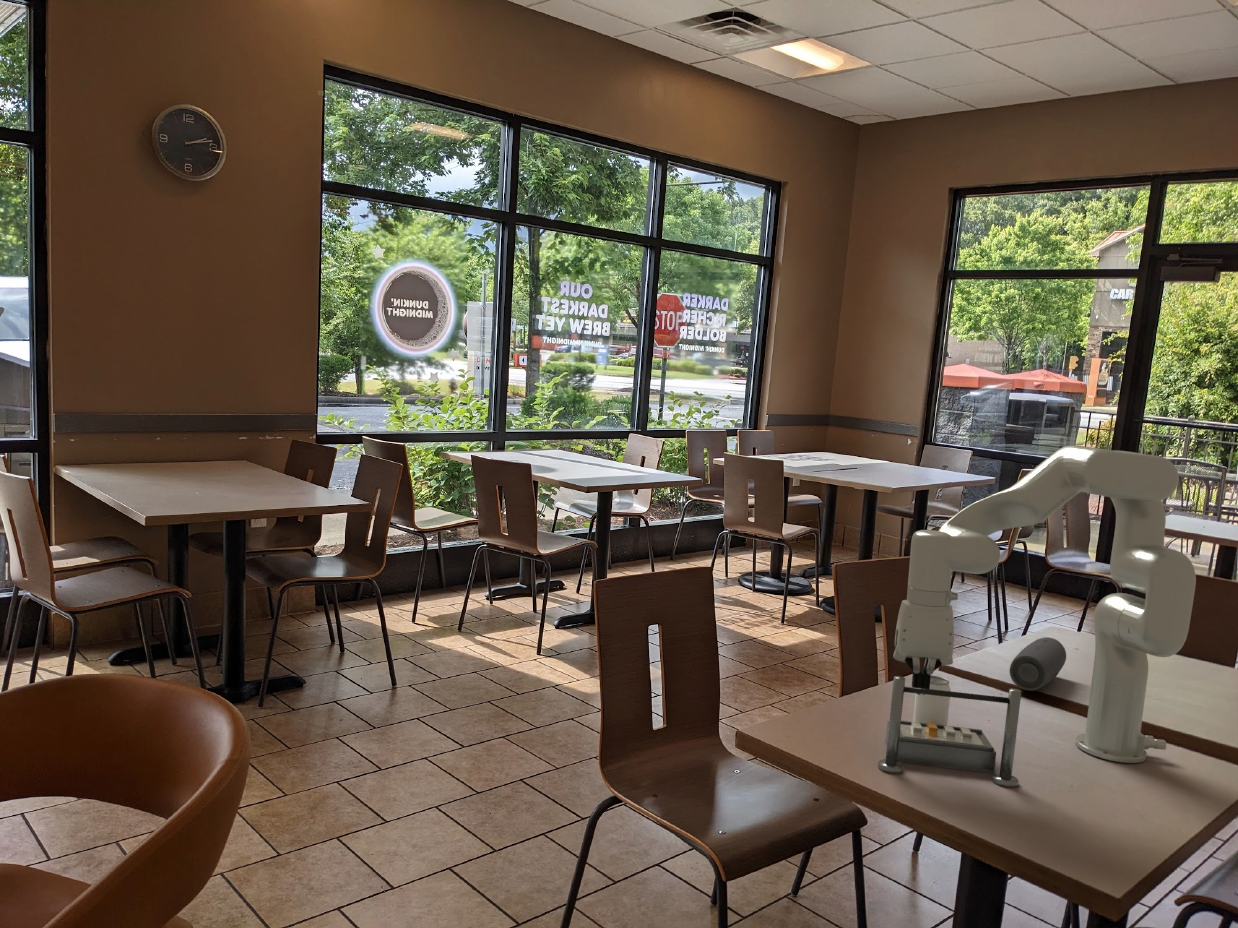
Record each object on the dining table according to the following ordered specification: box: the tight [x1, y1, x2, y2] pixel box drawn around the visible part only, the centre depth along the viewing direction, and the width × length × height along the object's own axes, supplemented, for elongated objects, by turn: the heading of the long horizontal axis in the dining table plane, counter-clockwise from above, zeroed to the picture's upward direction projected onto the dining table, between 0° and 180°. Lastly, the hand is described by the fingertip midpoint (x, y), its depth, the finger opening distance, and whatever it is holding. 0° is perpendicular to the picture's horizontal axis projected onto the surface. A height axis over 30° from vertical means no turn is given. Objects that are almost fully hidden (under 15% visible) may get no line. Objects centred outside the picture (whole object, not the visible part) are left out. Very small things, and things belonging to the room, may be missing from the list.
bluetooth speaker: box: [1009, 636, 1067, 692], centre depth 230 cm, size 23×9×10 cm, turn 144°
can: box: [912, 674, 952, 726], centre depth 189 cm, size 6×6×12 cm
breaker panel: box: [884, 720, 997, 774], centre depth 180 cm, size 18×10×6 cm, turn 82°
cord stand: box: [877, 675, 1022, 789], centre depth 171 cm, size 24×4×17 cm, turn 82°
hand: (920, 692), depth 179 cm, fingers closed
